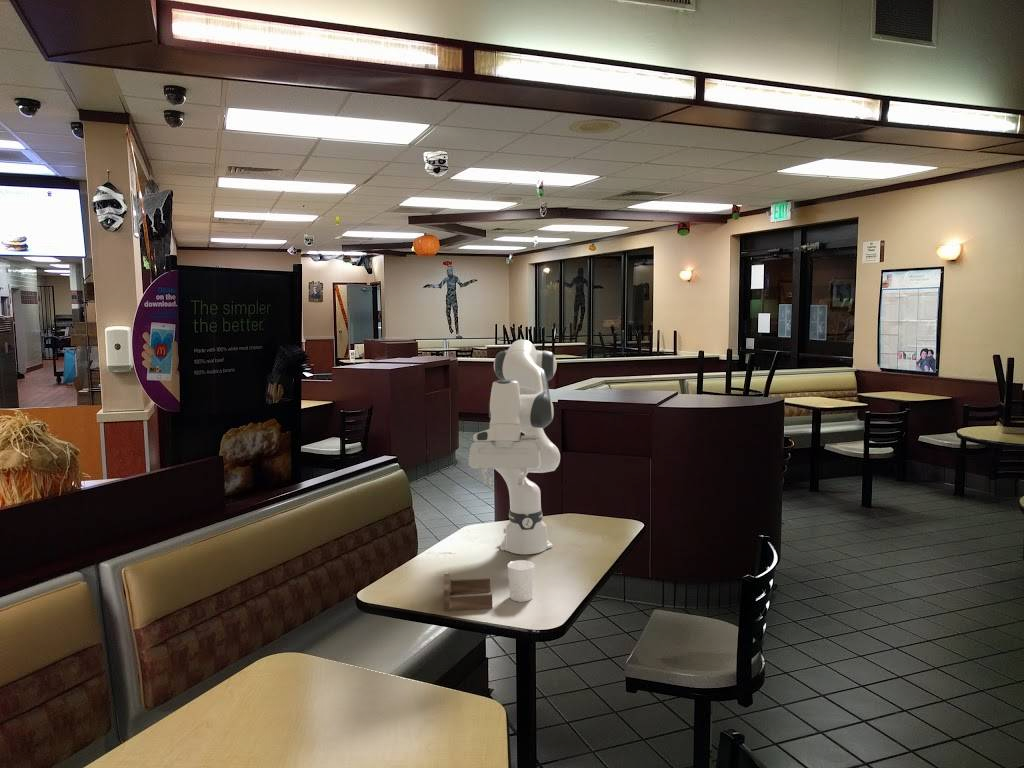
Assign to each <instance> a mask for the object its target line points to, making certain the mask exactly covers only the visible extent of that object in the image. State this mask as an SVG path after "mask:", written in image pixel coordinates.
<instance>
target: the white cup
mask: <svg viewBox="0 0 1024 768" xmlns="http://www.w3.org/2000/svg"><path fill="white" fill-rule="evenodd" d="M506 566H507V575H508V576H507V579H508V588H509V589H508V590H509V598H510V599H511V601H514V602H519V603H523V602H524V603H525V602H528V601H530V600H532V599H533V597H534V584H535V583H534V582H535V564H534V562H532V561H529V560H525V559H524V560H523V559H519V560H518V559H517V560H513V561H510V562H509V563H507V565H506Z"/></svg>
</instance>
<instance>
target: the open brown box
mask: <svg viewBox="0 0 1024 768" xmlns="http://www.w3.org/2000/svg"><path fill="white" fill-rule="evenodd" d="M443 575H444V576H443V607H444V609H443V611H444V612H450V611H451V610H454V611H467V610H468V611H469V610H486V609H493V606H494V605H493V593H491V578H490V577H482V578H481V577H479V578H477V577H476V578H463V579H462V578H461V579H460V578H459V579H450V578H451V577H450V573H444V574H443ZM489 592H490V593H489ZM473 593H474V594H473ZM457 594H459V595H457Z"/></svg>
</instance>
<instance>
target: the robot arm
mask: <svg viewBox="0 0 1024 768" xmlns="http://www.w3.org/2000/svg"><path fill="white" fill-rule="evenodd" d="M557 365H558V363H557V360H556V357H555V354H554V353H553V352H552V351H548V350H538V349H536V346H535V345H534V344H533V343H532V342H531V341H530V340H528V339H517V340H515V341H514V342H512V343H511V345H509V347H508V349H505V350H501V351H499V352H498V353H497V354H496V355H495V358H494V361H493V370H494V373H495V377H497V378H498V379H497V380H494V381H493V382H492V386H491V390H490V391H491V392H490V399H489V403H488V418H490V420H489V428H488V429H484V430H481V431H479V432H478V431H477V432H476V433H474V434H473V436H472V439H473V441H474V442H472V443H471V446H470V448H469V454H468V466H469V467H470V468H471V469H480V473H481V475H482V476H483V478H484V485H485V486H489V485H492V482H491V481H492V478H489V477H488V475H487V474H486V473H488V469H494V470H495V471H496V472H498V473H499V474H500V475H501V477H502V478H503V480H504V482H505V484H506V486H507V490H508V494H509V510H508V520H509V522H508V523H507V525H506V526H504V527H503V534H505V535H504V537H503V539H502V542H501V545H500V549H501V551H504V550H505V552H510V553H512V554H517V555H534V554H539V553H542V552H544V551H546V550H547V549H551V548H553V543H552V542H550V541H549V539H548V528H547V524H546V523H545V522H544V521H543V510H542V503H541V500H542V499H541V489H540V487H539V486H538V485H537V484H536V483H535V482H534V481H531V480H530V479H529V478H528V477H527V475H528V474H529V473H533V474H534V473H535V474H536V473H537V474H538V473H539V474H544V473H549V472H555V471H556V470H557V468H558V467H559V465H560V463H561V453H560V450H559V448H558V447H557V446H556V444H554V443H553V442H552V441H551V440H550V438H549V437H548V436H547V434H546V433H545V430H544V429H545V428H546V427H548V426H549V425H550V424H551V423H552V422H553V420H554V419H553V418H554V416H555V415H554V414H555V412H554V410H555V409H554V403H553V402H552V399H551V396H550V389H549V383H548V382H549V381H551V380H552V379H553V377H555V374H556V371H557ZM521 433H522V434H524V435H521ZM500 549H499V550H500Z"/></svg>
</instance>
